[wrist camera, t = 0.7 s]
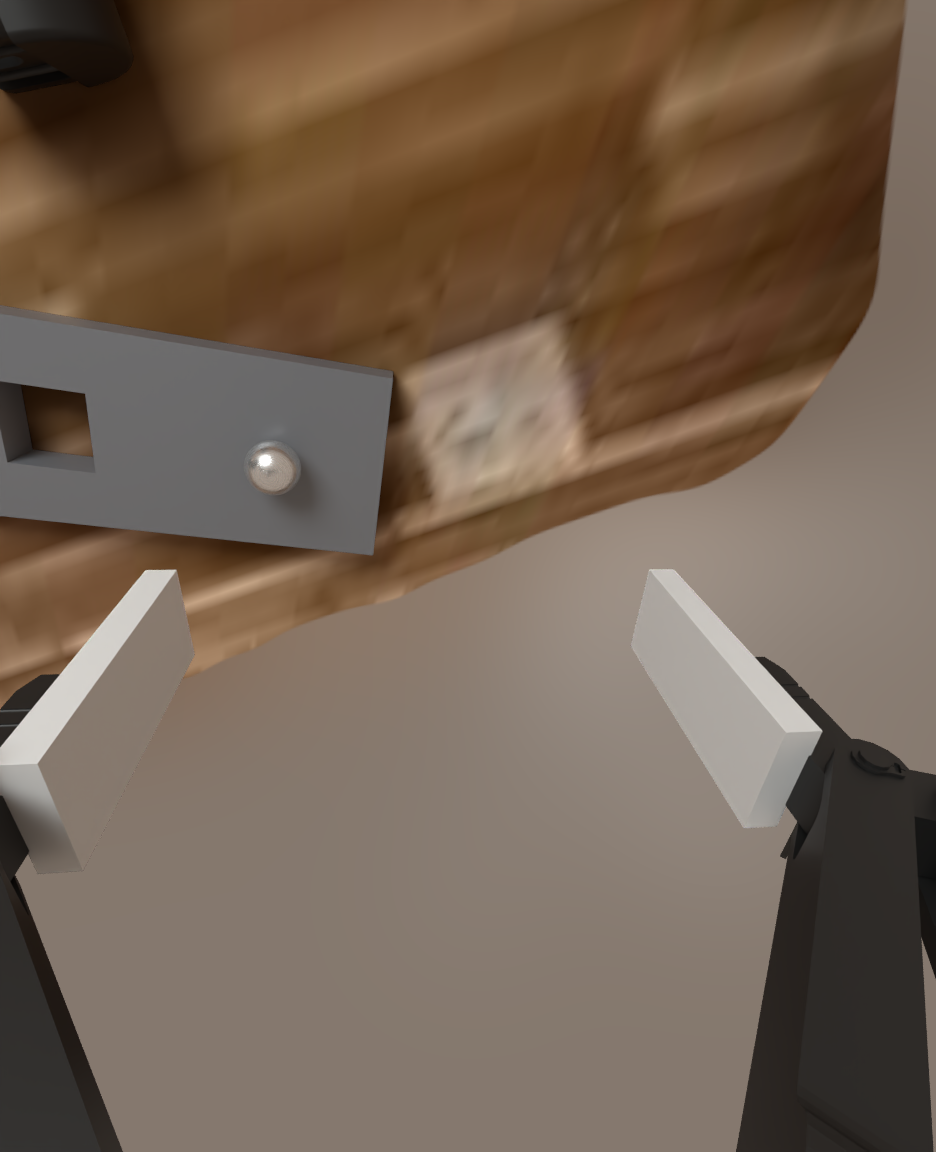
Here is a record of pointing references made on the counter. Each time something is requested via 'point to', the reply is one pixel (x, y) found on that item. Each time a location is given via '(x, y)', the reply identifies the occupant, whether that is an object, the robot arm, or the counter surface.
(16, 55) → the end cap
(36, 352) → the hole plate
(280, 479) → the steel ball
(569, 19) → the counter surface
